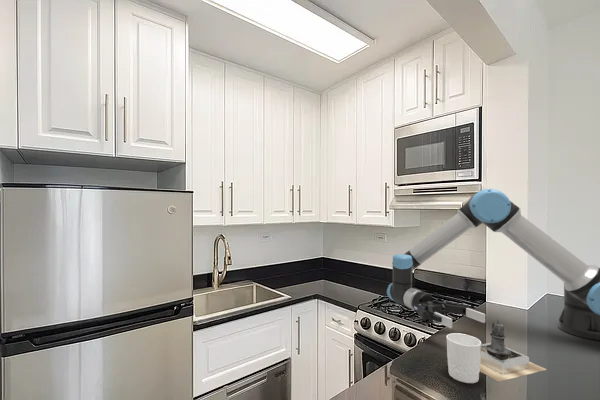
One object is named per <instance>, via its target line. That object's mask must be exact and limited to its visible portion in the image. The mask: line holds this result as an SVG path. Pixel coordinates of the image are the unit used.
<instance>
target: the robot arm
mask: <svg viewBox="0 0 600 400" xmlns="http://www.w3.org/2000/svg"><path fill="white" fill-rule="evenodd" d="M482 224H483V225H484V226H486V227H487V228H489V230H491V231H492V232H493V233H501V234H503V235H504V236H505V237H507V238H508V239H509V240H511V241H512V242H513V243H514V244H515V245H517V246H518V247H519V248H521V250H523V251H524V252H525V253H527V254H528V255H529V256H531V258H533V259H535V261H537V262H538V263H539V264H541V265H542V266H543V267H545V268H546V269H547V270H548V271H550V273H552V274H553V275H554V276H555V277H557V278H558V279H559V280H561V281H562V282H563V302H564V303H563V308H562V311H561V313H560V315H559V317H558V321H557V327H558V329H560V330H561V331H562V332H565V333H567V334H571V335H574V336H576V337H580V338H585V339H589V340H595V341H600V267H599V266H597V265H596V264H586V263H585V262H584V261H582V260H581V259H580V258H579V257H578V256H576V255H574V253H572V252H571V251H569V250H568V249H567V248H566V247H564V246H563V245H561V244H560V242H557V241H556V240H555V239H553V238H552V237H551V236H550V235H548V234H547V233H546V232H544V231H543V230H542V229H541V228H539V227H537V226H536V225H535V224H534V223H533V222H531V221H530V220H529V219H527V218H526V217H524V215H522V212H521V208H520V207H519V206H518V205H516V204H515V203H513V201H512V200H510V199H509V197H508V195H506V194H505V193H504V192H502V191H501V190H497V189H495V188H485V189H481V190H479V191H477V192H476V193H474V194H473V195H472V196H471V197H470V198H469V199H468V200H467V201H466V203H464V204H463V205H462V206H461V207H460V208H458V210H457V213H456V214H455V215H453V216H452V217H451V218H449V219H448V220H447V221H445V223H442V224H441V225H440V226H439V227H438V228H436V229H435V230H433V231H432V232H431V233H430V234H428V235H427V236H426V237H425V238H423V239H422V240H421V241H419V242H418V243H416V244H415V245H414V246H413V247H411V248H410V249H409V250H408V251H406V252H405V253H403V254H402V253H398V254H394V255H393V256H392V261H391V262H392V263H391V265H392V282H391V283H390V284H388V286H387V289H386V295H387V297H388V299H390V300H392V301H393V302H394V303H396V304H398V305H402V306H403V307H407V308H409V309H411V310H412V311H413V312H416V313H417V314H418V316H420V317H421V319H422V320H423V321H428V323H430V324H433V323H434V322H436V323H437V324H440V325H442V326H445V327H447V328H449V329H452V328H453V318H451V317H449V316H446V315H444V314H447V313H451V314H458V315H463V316H466V317H467V318H470V319H472V320H475V321H477V322H479V323H483V324H486V314H485V313H483V312H481V311H477V310H475V309H472V308H473V307H472V306H471V305H470V304H467V305H465V304H461V303H457V302H452V301H448V300H444V299H443V300H441V301H439V300H435V299H434V297H433V296H432V295H431V294H430V293H427V292H425V291H422V290H420V289H417V288H413V271H414V270H416V269H417V268H418V267H419V266H421V265H422V264H423V263H425V262H426V261H427V260H429V259H430V258H432V257H433V256H434V255H436V254H437V253H439V252H440V251H441V250H443V249H444V248H445V247H447V246H448V245H450V244H451V243H452V242H454V241H455V240H457V239H458V238H459V237H461V236H462V235H463V234H465V233H467V231H470V229H471V228H472V229H476V228H478V227H479V226H481V225H482Z"/></svg>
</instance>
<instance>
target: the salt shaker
mask: <svg viewBox="0 0 600 400" xmlns="http://www.w3.org/2000/svg"><path fill="white" fill-rule="evenodd" d="M489 336H490V338H491V340H490V341H491V342H490V343H491V345H487V346H486V349H487V352H488V354H489V355H491V356H493V357H495V358H497V359H500V360H506V359H508V357H509V354H510V351H509V350H508V349H507V348H508V347H507V348H505V347H506V346H505V338H506V336H505V325H504V324H503V323H502V322H500V320H499V318H497V319H496V321H493V322H492V323H491V333H490V334H489Z"/></svg>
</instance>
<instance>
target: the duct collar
mask: <svg viewBox="0 0 600 400" xmlns="http://www.w3.org/2000/svg"><path fill="white" fill-rule="evenodd" d="M487 345H491V342H487V343H481V359H480V363H481V364H483V365H485V366H487V367H489V368H491V369H493V370H494V371H496V372H498V373H500V374H502V375H503V374H508V373H512V372H516V371H520V370H524V369H528V368H529V362H530V357H529V356H528V355H525V354H524V353H521V352H518V351H516V350H514V349H511V348H509V347H507V346H505V348H507V349H508V350H509V351H510V354H509V357H508V359H506V360H500V359H497V358H495V357H493V356H491V355H489V354H488V352H487V349H486V346H487Z"/></svg>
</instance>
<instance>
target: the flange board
mask: <svg viewBox="0 0 600 400" xmlns="http://www.w3.org/2000/svg"><path fill="white" fill-rule="evenodd" d="M542 371H543V372H544V371H547V368H545V367H543V366H540V365H538V364H535V363H533V362H531V361H529V368H528V369H524V370H520V371H516V372H512V373H508V374H503V375H502V374H500V373H498V372H496V371H494V370H493V369H491V368H489V367H487V366H485V365H483V364H481V363H480V372H479V373H482V374H484V375H486V376H487V377H489V378H491V379H492V380H495V381H496V382H498V383H500V382H503V381H508V380H510V379H511V380H513V379H516V378H520V377H524V376H528V375H532V374H536V373H540V372H542Z"/></svg>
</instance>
